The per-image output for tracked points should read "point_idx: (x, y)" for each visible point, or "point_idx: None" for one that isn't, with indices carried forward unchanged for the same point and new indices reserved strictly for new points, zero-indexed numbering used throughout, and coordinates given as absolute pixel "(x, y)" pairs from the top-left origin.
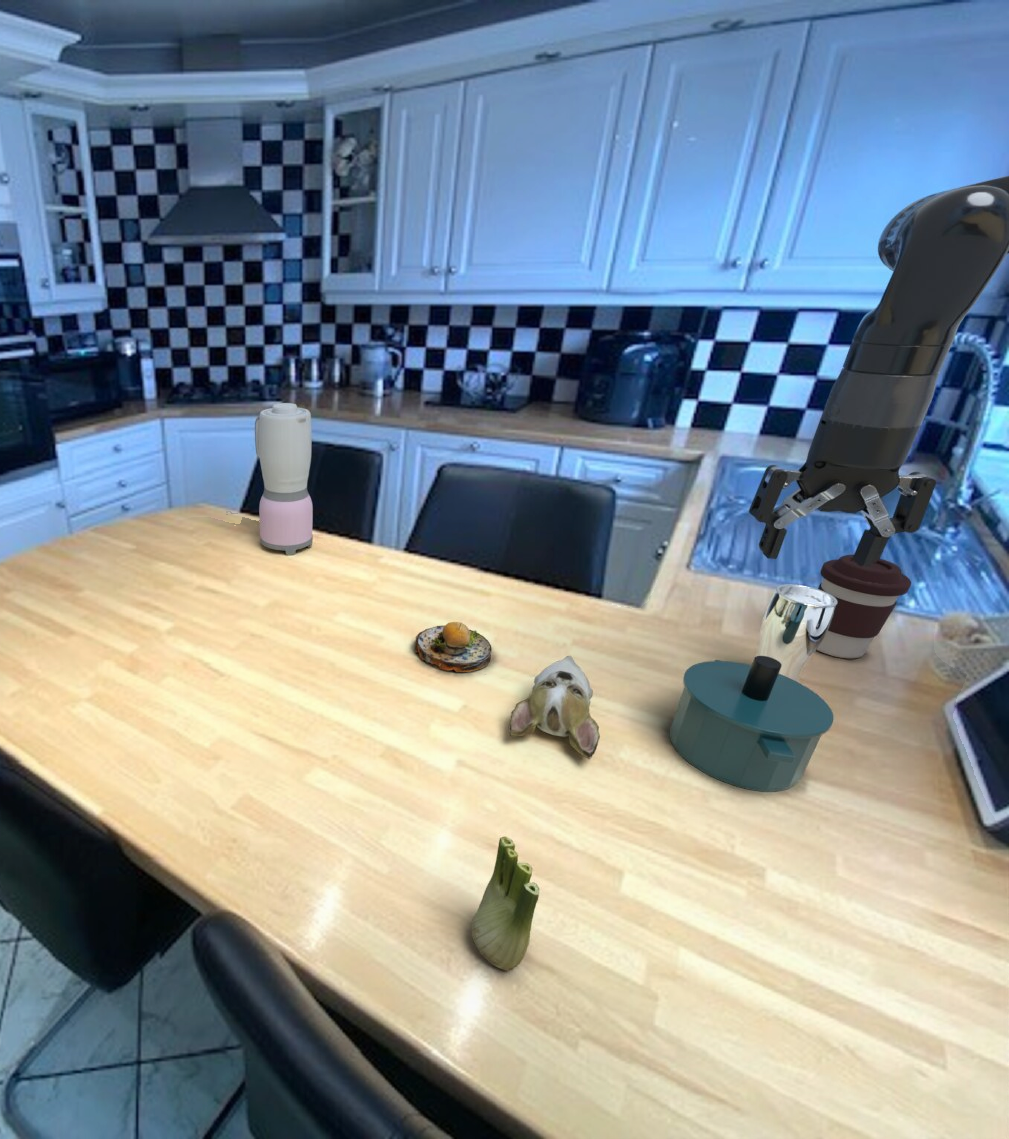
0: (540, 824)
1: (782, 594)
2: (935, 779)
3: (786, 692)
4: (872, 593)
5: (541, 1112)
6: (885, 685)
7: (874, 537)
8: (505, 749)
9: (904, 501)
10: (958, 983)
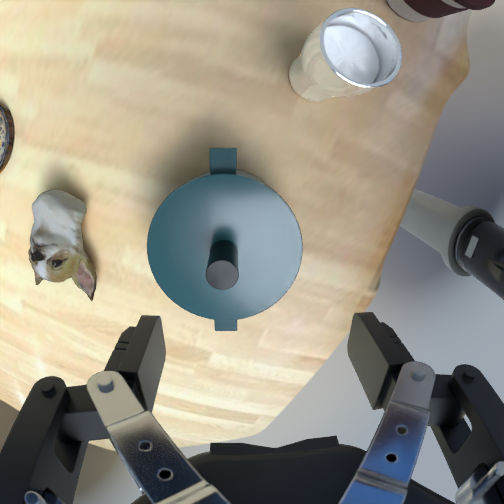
0: (79, 348)
1: (323, 48)
2: (391, 217)
3: (264, 237)
4: (457, 2)
5: (112, 449)
6: (426, 67)
7: (372, 406)
8: (43, 280)
9: (474, 448)
10: (285, 391)
